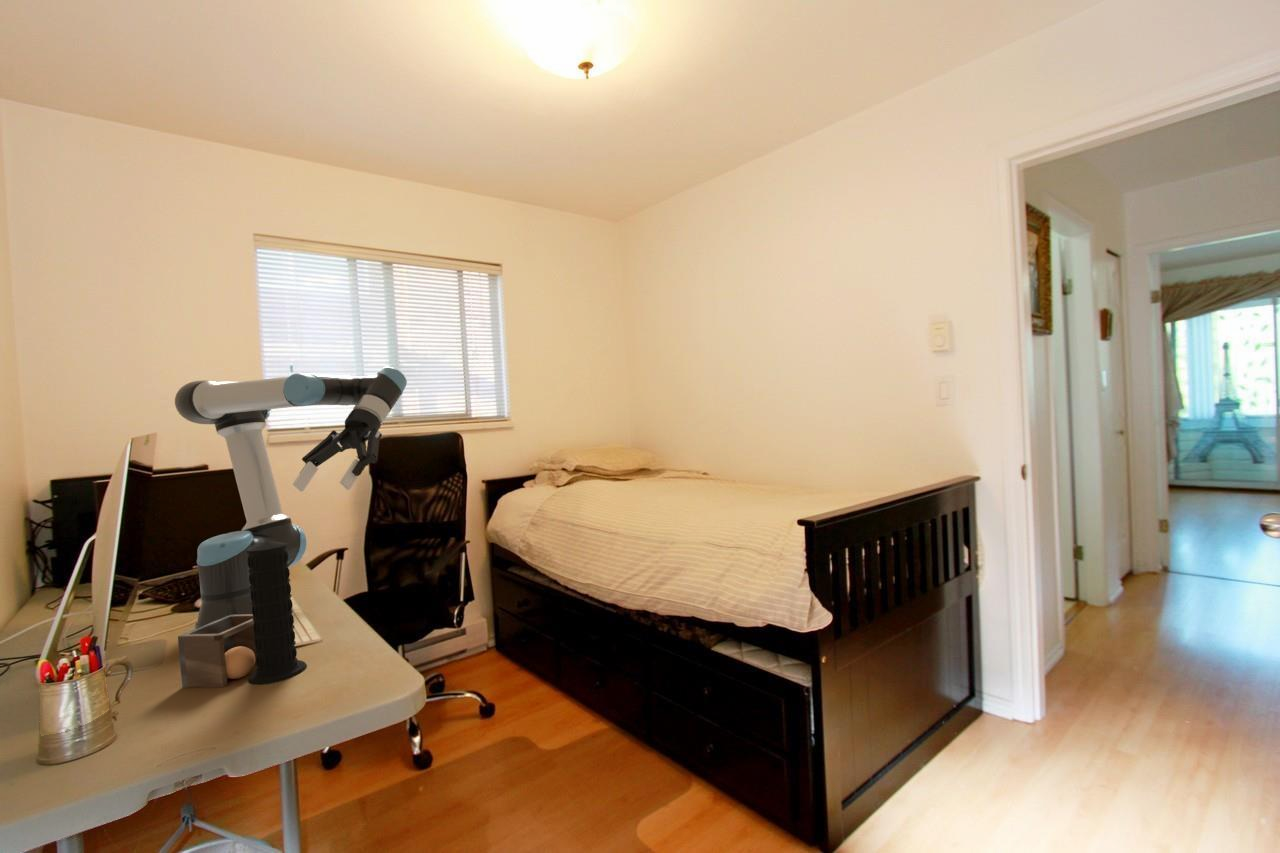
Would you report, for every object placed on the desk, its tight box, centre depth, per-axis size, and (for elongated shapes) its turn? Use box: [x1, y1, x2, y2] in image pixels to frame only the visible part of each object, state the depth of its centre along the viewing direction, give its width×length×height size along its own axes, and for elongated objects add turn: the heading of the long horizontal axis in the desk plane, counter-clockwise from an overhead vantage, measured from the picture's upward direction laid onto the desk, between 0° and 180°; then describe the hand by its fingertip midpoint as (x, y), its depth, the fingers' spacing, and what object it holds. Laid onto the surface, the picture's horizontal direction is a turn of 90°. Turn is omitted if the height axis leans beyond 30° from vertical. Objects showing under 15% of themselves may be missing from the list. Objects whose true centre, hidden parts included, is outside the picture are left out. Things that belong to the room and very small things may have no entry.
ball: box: [225, 646, 256, 680], centre depth 116 cm, size 6×6×6 cm
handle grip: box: [246, 542, 308, 685], centre depth 116 cm, size 10×26×10 cm
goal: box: [177, 614, 258, 688], centre depth 118 cm, size 12×9×10 cm
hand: (320, 487), depth 129 cm, fingers open, 13 cm apart
